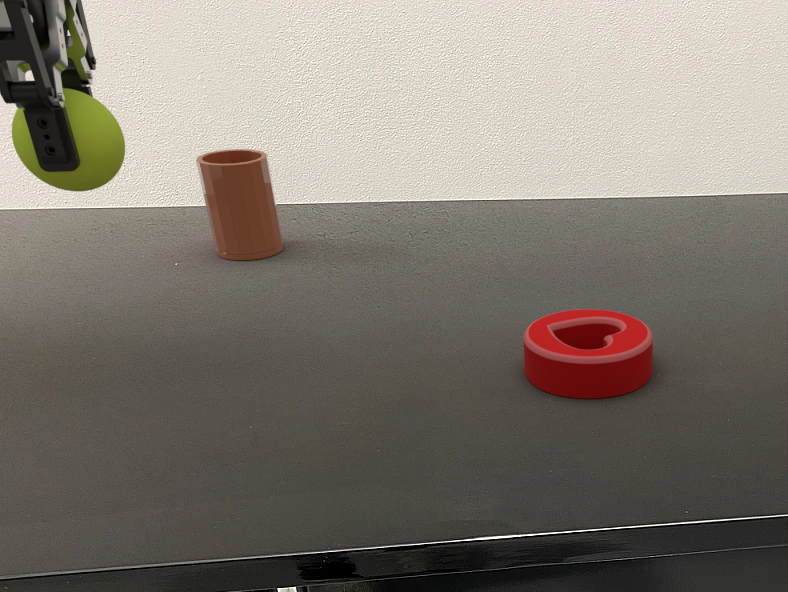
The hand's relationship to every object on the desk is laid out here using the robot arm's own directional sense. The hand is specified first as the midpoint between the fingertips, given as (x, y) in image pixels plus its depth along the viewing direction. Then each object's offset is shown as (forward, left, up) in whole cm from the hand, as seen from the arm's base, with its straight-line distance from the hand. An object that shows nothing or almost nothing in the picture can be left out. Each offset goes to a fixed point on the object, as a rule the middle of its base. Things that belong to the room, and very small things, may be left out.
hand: (74, 156), depth 63 cm
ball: (0, 0, -2) cm, 2 cm away
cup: (+6, +27, -16) cm, 32 cm away
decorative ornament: (+33, -7, -16) cm, 37 cm away
